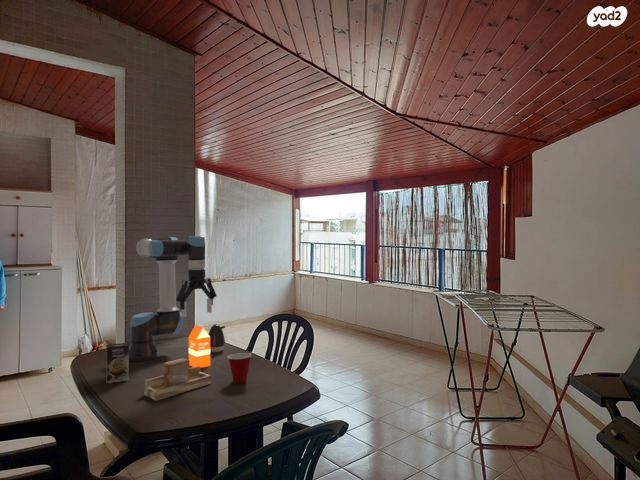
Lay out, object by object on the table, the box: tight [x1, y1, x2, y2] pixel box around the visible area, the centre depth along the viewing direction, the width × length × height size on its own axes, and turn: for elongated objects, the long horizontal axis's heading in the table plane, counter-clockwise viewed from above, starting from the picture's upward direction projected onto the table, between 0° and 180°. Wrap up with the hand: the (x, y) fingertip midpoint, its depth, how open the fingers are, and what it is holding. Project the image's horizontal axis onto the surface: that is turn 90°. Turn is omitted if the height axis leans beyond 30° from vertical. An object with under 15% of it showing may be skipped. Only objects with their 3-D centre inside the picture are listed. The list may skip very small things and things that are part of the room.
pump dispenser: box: [208, 323, 226, 353], centre depth 242 cm, size 10×10×15 cm
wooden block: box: [163, 357, 191, 387], centre depth 182 cm, size 5×9×10 cm, turn 140°
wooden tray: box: [143, 366, 212, 401], centre depth 183 cm, size 9×26×7 cm, turn 140°
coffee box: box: [105, 342, 130, 384], centre depth 194 cm, size 9×6×16 cm
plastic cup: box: [226, 352, 252, 384], centre depth 193 cm, size 11×11×12 cm
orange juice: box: [188, 324, 211, 369], centre depth 216 cm, size 8×9×20 cm
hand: (197, 314), depth 200 cm, fingers open, 13 cm apart
